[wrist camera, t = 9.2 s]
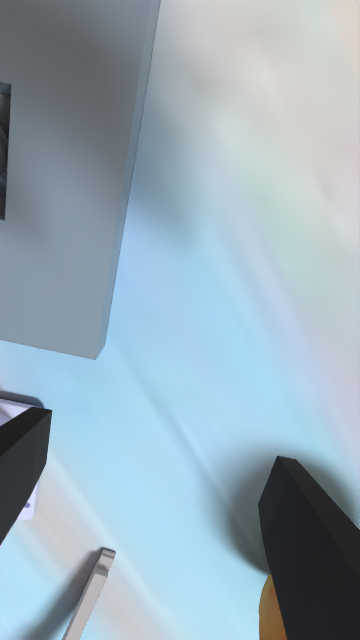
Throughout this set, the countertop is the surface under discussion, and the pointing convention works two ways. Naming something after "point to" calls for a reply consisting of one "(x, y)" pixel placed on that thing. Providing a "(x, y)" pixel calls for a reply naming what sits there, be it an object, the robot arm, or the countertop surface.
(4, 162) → the steel ball
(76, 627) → the caliper
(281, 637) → the onion
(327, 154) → the countertop surface
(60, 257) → the hole plate
